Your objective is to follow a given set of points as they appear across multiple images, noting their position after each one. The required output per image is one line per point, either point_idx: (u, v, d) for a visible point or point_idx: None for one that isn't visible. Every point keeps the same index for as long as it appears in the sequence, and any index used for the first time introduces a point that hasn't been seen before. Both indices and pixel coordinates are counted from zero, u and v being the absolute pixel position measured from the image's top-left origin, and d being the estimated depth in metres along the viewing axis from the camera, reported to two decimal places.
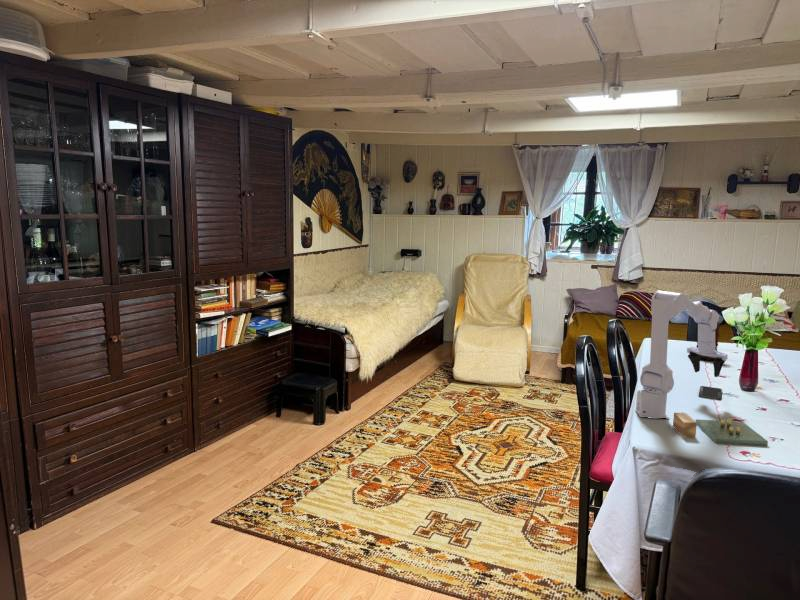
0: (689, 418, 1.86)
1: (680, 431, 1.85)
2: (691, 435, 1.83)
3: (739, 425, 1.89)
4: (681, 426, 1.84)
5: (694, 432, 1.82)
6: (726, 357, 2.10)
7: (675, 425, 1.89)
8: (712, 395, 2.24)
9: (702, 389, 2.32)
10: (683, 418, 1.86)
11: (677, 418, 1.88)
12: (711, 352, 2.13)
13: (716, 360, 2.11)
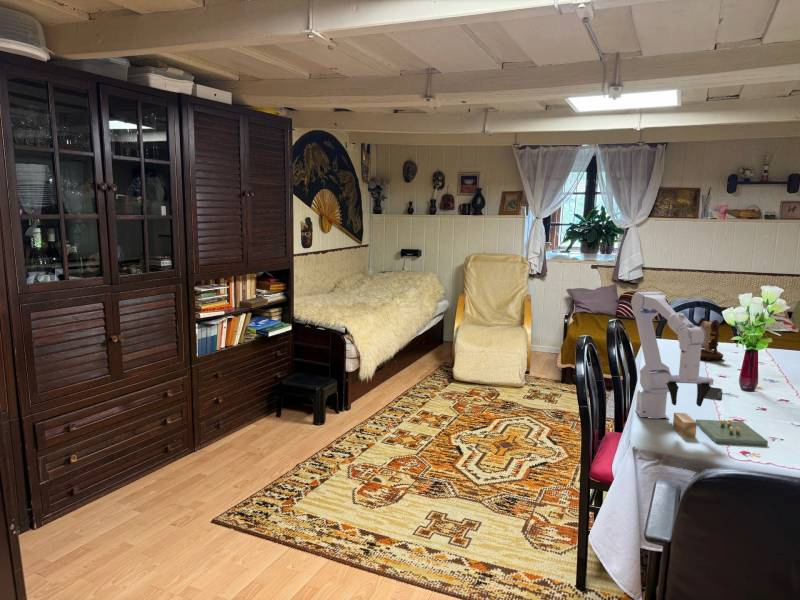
0: (689, 418, 1.86)
1: (680, 431, 1.85)
2: (691, 435, 1.83)
3: (739, 425, 1.89)
4: (681, 426, 1.84)
5: (694, 432, 1.82)
6: (664, 379, 1.85)
7: (675, 425, 1.89)
8: (712, 395, 2.24)
9: None
10: (682, 418, 1.86)
11: (677, 418, 1.88)
12: (679, 374, 1.86)
13: None
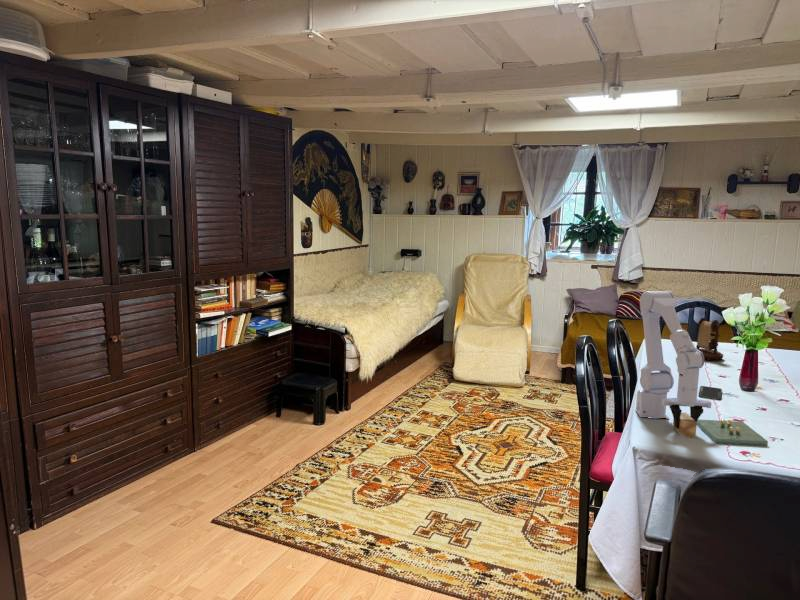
0: (689, 418, 1.86)
1: (680, 431, 1.85)
2: (691, 435, 1.83)
3: (739, 425, 1.89)
4: (681, 426, 1.84)
5: (694, 432, 1.82)
6: (663, 402, 1.86)
7: None
8: (712, 395, 2.24)
9: (702, 389, 2.32)
10: (683, 418, 1.86)
11: None
12: (677, 397, 1.87)
13: None
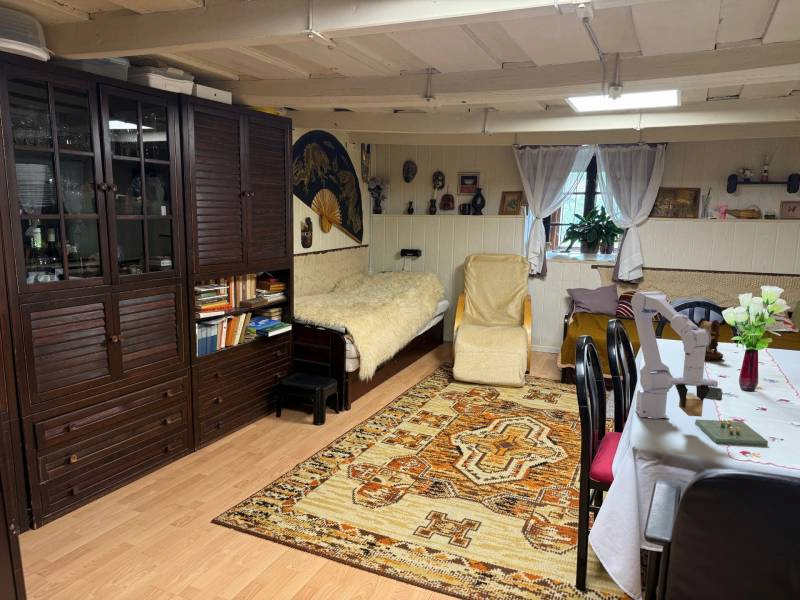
0: (695, 397, 1.84)
1: (686, 410, 1.83)
2: (697, 414, 1.81)
3: (739, 425, 1.89)
4: (687, 405, 1.83)
5: (700, 411, 1.81)
6: (669, 381, 1.85)
7: None
8: (712, 395, 2.24)
9: None
10: (689, 397, 1.84)
11: None
12: (683, 377, 1.86)
13: None
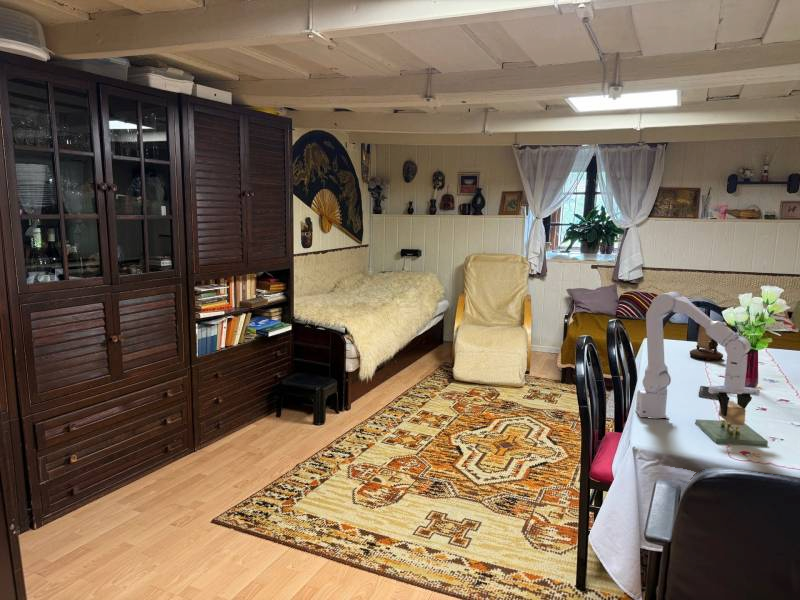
0: (737, 405, 1.83)
1: (728, 419, 1.82)
2: (740, 422, 1.80)
3: (739, 425, 1.89)
4: (729, 413, 1.81)
5: (743, 419, 1.80)
6: (710, 390, 1.84)
7: None
8: (712, 395, 2.24)
9: (702, 389, 2.32)
10: (730, 405, 1.83)
11: None
12: (724, 385, 1.85)
13: None
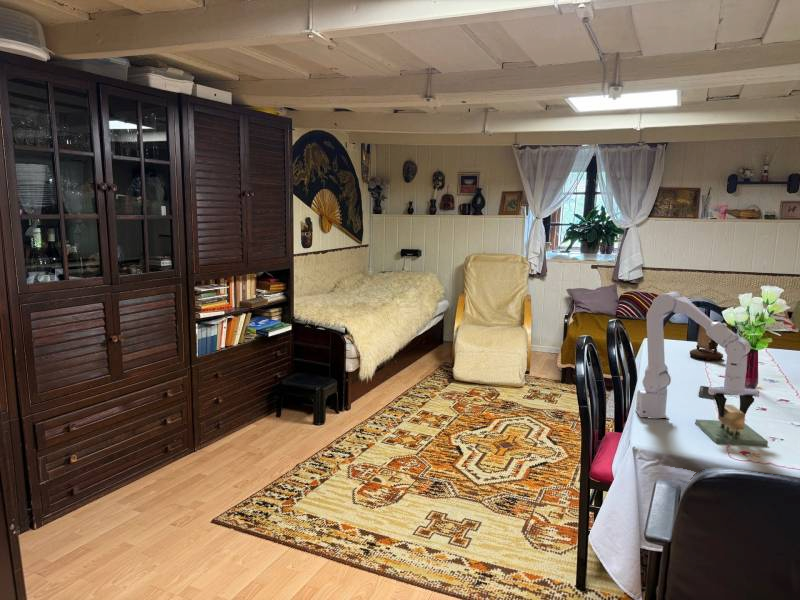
0: (736, 409, 1.83)
1: (727, 423, 1.82)
2: (739, 427, 1.80)
3: None
4: (729, 418, 1.81)
5: (742, 423, 1.80)
6: (709, 391, 1.84)
7: (721, 417, 1.87)
8: (712, 395, 2.24)
9: (702, 389, 2.32)
10: (730, 410, 1.83)
11: (724, 410, 1.85)
12: None
13: None
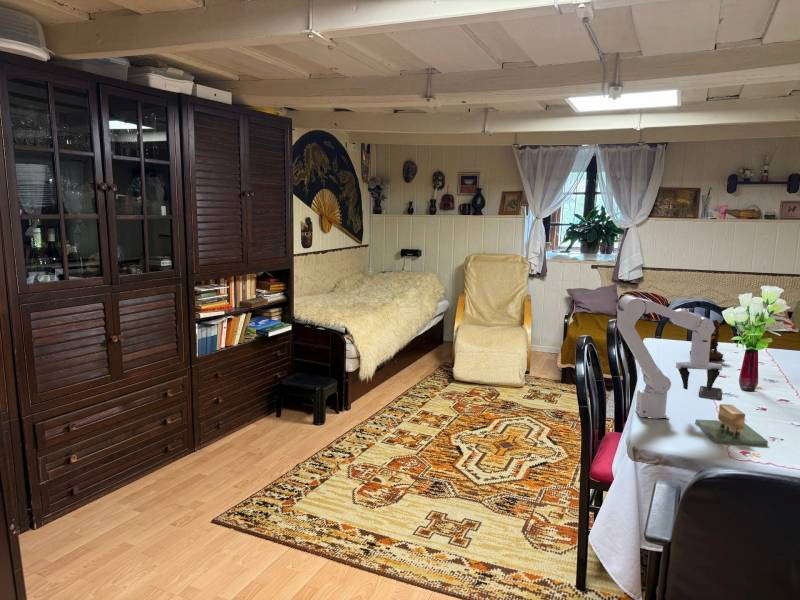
0: (736, 409, 1.83)
1: (727, 423, 1.82)
2: (739, 427, 1.80)
3: None
4: (729, 418, 1.81)
5: (742, 423, 1.80)
6: (677, 365, 2.00)
7: (721, 417, 1.87)
8: (712, 395, 2.24)
9: (702, 389, 2.32)
10: (730, 410, 1.83)
11: (724, 410, 1.85)
12: (690, 361, 2.01)
13: None
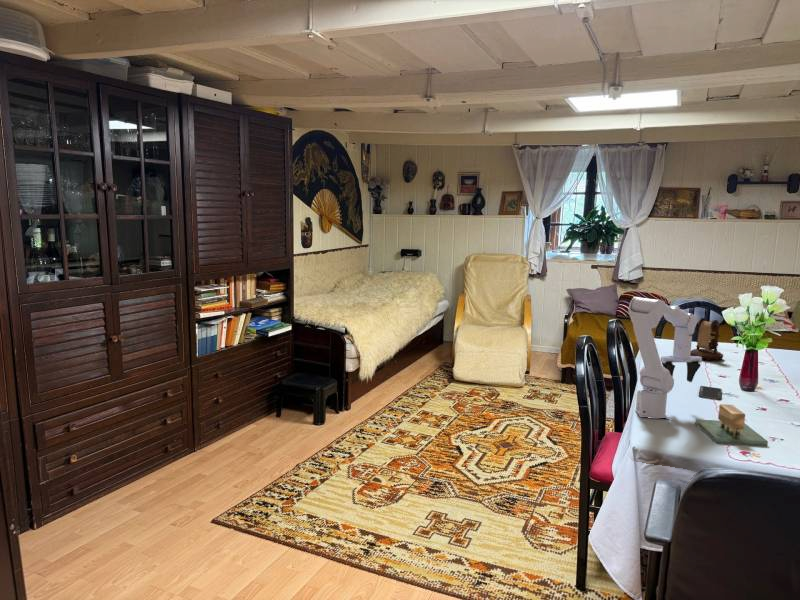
0: (736, 409, 1.83)
1: (727, 423, 1.82)
2: (739, 427, 1.80)
3: None
4: (729, 418, 1.81)
5: (742, 423, 1.80)
6: (662, 360, 2.07)
7: (721, 417, 1.87)
8: (712, 395, 2.24)
9: (702, 389, 2.32)
10: (730, 410, 1.83)
11: (724, 410, 1.85)
12: None
13: None
